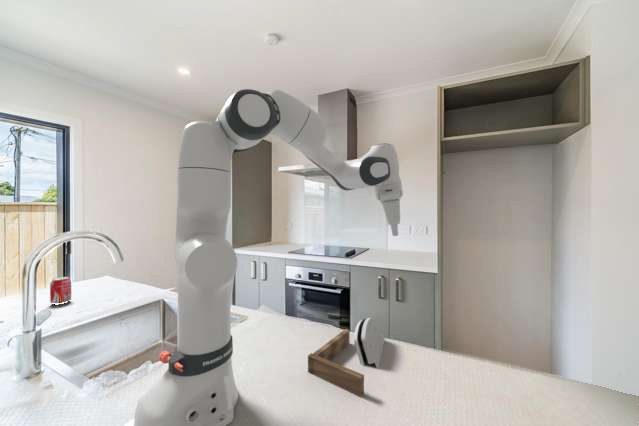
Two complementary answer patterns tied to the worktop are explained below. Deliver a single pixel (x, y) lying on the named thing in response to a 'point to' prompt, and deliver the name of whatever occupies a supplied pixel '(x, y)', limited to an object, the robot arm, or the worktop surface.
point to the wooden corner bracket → (336, 365)
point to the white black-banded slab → (368, 342)
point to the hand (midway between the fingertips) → (394, 232)
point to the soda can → (60, 290)
